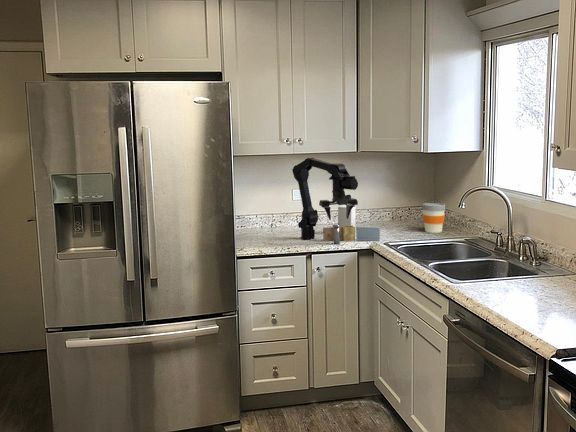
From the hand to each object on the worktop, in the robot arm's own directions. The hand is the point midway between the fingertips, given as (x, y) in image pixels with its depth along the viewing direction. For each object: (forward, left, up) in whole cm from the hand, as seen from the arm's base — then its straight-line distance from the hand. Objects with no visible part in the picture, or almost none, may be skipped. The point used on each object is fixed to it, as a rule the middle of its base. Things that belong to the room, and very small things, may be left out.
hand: (338, 219), depth 314 cm
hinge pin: (-1, -1, -12) cm, 12 cm away
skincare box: (+10, +24, -12) cm, 28 cm away
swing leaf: (+16, +3, -12) cm, 20 cm away
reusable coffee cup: (+58, +20, -12) cm, 62 cm away
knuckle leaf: (+1, +8, -12) cm, 14 cm away
